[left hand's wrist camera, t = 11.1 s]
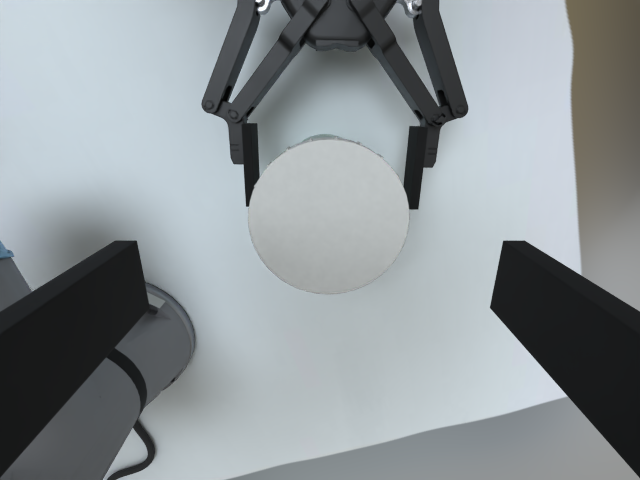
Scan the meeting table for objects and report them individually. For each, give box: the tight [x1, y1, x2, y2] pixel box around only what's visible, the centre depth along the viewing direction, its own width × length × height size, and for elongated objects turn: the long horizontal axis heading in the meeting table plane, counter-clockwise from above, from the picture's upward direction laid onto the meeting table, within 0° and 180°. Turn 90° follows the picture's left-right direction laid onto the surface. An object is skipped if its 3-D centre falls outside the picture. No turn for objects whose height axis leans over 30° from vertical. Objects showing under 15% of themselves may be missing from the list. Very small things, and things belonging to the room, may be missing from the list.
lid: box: [248, 136, 409, 294], centre depth 21 cm, size 10×10×2 cm
